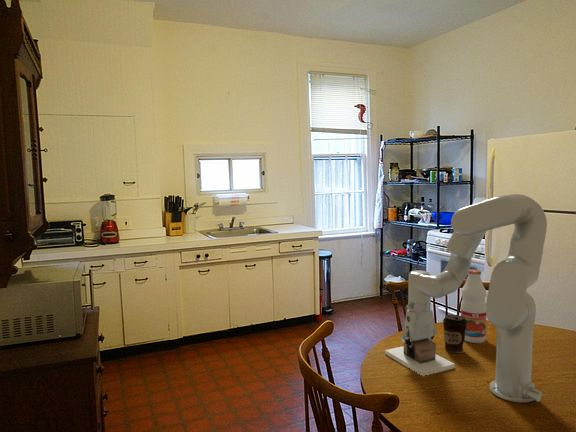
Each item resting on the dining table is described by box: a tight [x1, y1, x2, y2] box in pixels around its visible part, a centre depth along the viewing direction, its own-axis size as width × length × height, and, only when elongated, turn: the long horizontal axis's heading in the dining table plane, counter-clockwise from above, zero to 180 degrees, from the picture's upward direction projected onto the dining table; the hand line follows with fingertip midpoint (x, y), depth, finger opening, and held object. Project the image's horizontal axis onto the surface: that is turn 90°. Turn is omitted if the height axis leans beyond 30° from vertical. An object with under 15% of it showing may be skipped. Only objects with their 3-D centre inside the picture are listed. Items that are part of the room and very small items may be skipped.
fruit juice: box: [460, 268, 487, 344], centre depth 171 cm, size 9×9×28 cm
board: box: [384, 345, 456, 377], centre depth 153 cm, size 20×14×2 cm
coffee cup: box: [442, 314, 467, 354], centre depth 161 cm, size 9×8×13 cm
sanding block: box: [403, 337, 437, 363], centre depth 152 cm, size 9×6×6 cm
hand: (418, 354), depth 153 cm, fingers closed on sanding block, 6 cm apart
